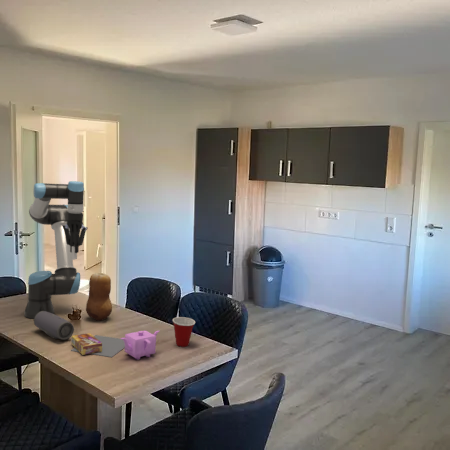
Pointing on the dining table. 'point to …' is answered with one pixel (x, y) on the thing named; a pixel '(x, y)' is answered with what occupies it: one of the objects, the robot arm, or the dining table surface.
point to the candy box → (86, 344)
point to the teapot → (140, 343)
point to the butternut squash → (99, 297)
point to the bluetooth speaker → (53, 325)
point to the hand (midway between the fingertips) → (74, 259)
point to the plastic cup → (183, 330)
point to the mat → (108, 346)
